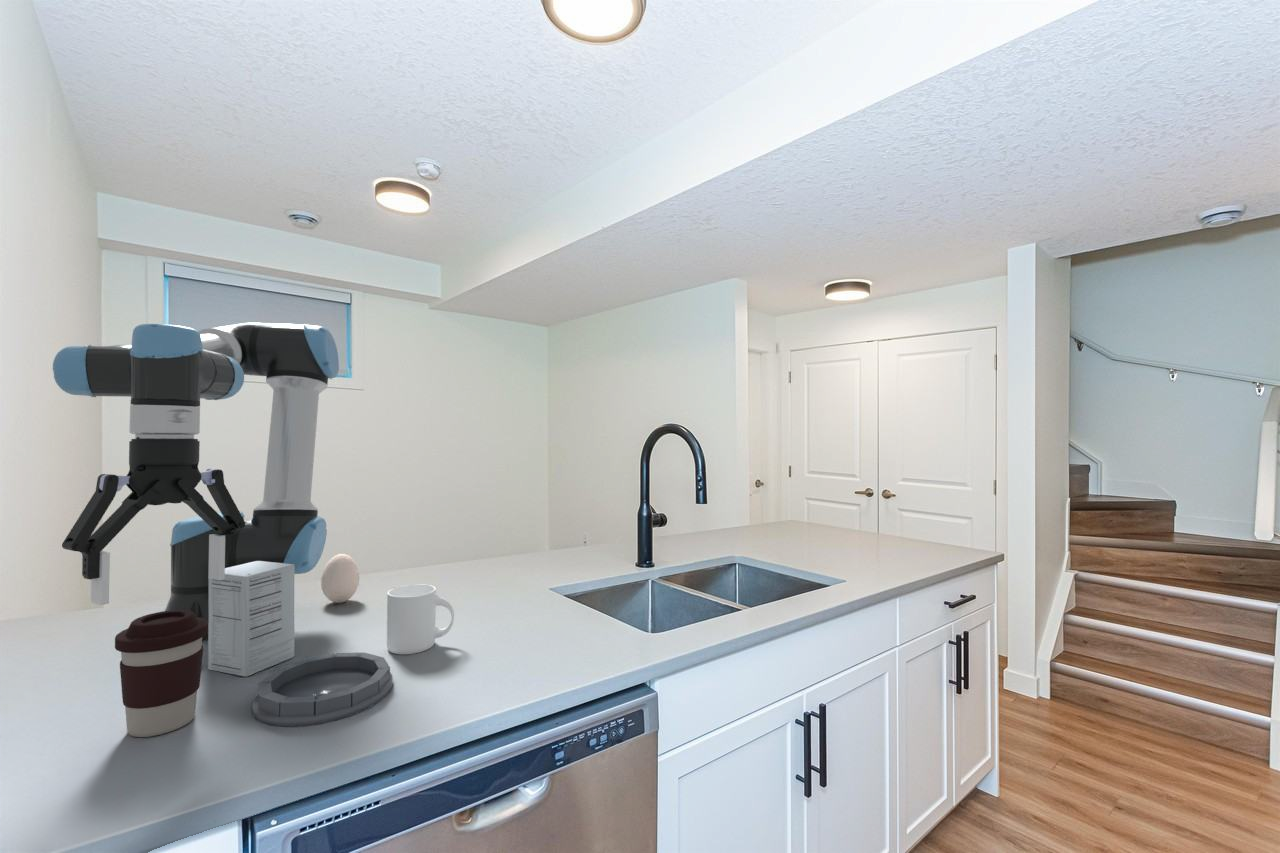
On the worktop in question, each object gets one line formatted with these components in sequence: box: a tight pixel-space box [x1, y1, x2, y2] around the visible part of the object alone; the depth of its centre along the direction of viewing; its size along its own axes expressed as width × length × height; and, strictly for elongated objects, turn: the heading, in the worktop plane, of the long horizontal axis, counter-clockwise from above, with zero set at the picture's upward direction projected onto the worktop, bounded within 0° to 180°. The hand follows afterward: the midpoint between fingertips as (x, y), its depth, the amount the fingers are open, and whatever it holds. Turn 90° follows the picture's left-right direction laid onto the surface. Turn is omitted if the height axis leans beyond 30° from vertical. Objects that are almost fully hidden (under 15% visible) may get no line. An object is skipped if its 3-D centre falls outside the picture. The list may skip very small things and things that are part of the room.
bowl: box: [251, 652, 393, 728], centre depth 89 cm, size 19×19×3 cm
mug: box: [386, 583, 455, 656], centre depth 109 cm, size 9×12×11 cm
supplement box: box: [207, 561, 295, 678], centre depth 100 cm, size 10×9×17 cm
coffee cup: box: [114, 610, 208, 738], centre depth 79 cm, size 10×10×15 cm
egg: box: [320, 553, 360, 604], centre depth 134 cm, size 8×8×11 cm
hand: (162, 590), depth 79 cm, fingers open, 13 cm apart
